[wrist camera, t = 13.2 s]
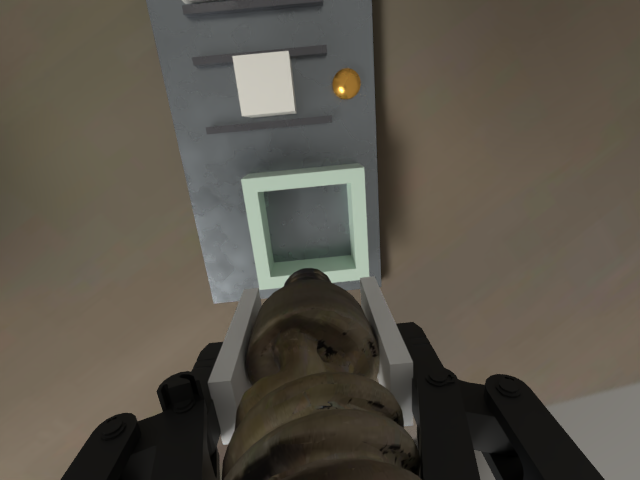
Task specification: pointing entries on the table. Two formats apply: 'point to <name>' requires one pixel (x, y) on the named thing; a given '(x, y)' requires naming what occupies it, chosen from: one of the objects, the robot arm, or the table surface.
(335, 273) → the socket
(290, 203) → the panel
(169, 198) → the table surface
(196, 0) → the block
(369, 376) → the light bulb
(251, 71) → the block
